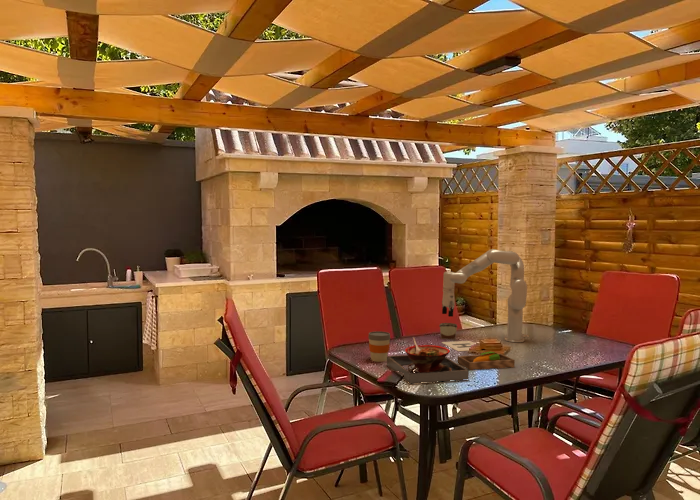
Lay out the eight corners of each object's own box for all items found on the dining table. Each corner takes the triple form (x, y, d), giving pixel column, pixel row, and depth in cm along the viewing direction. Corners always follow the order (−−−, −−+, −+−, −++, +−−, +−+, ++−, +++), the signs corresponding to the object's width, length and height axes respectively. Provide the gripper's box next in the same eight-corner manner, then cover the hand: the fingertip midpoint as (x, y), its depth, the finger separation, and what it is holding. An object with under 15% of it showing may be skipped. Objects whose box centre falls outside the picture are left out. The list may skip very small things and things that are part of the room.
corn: (503, 351, 297) (478, 355, 286) (504, 364, 297) (479, 370, 286) (493, 349, 304) (468, 353, 292) (493, 362, 304) (468, 367, 292)
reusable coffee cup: (374, 363, 297) (375, 336, 296) (364, 358, 308) (364, 332, 307) (394, 361, 303) (394, 334, 302) (382, 355, 314) (383, 330, 313)
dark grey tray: (439, 362, 301) (439, 353, 301) (468, 380, 268) (468, 370, 267) (386, 365, 294) (387, 356, 293) (410, 384, 260) (410, 374, 260)
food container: (456, 337, 366) (456, 323, 366) (457, 339, 360) (457, 324, 360) (438, 336, 368) (438, 322, 367) (438, 338, 362) (439, 324, 361)
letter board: (469, 341, 355) (469, 340, 355) (487, 349, 332) (487, 348, 332) (441, 342, 350) (441, 341, 350) (458, 351, 327) (458, 350, 327)
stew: (397, 365, 294) (397, 336, 293) (438, 363, 298) (439, 335, 298) (413, 380, 266) (414, 348, 265) (458, 378, 271) (459, 347, 270)
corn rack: (500, 360, 306) (501, 353, 306) (514, 367, 293) (514, 360, 293) (457, 363, 299) (457, 356, 299) (469, 370, 286) (469, 362, 286)
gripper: (459, 291, 355) (458, 317, 356) (448, 288, 372) (447, 312, 373) (449, 291, 353) (447, 317, 354) (438, 288, 370) (437, 312, 371)
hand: (447, 315), depth 363 cm, fingers open, 9 cm apart
